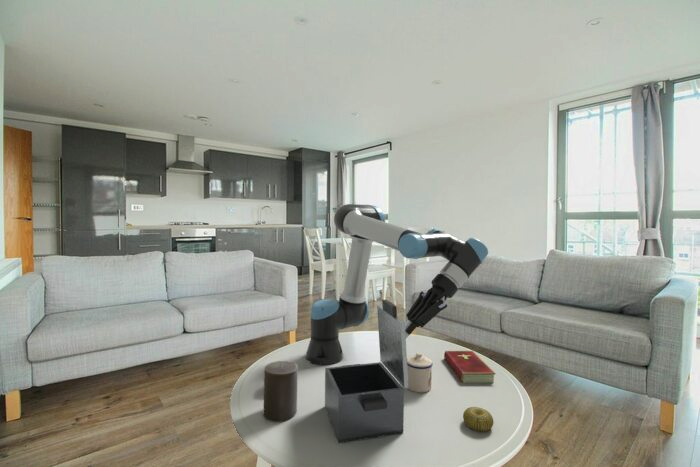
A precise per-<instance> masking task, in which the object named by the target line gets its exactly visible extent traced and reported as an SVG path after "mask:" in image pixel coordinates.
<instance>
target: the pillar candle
mask: <svg viewBox="0 0 700 467" xmlns="http://www.w3.org/2000/svg"><path fill="white" fill-rule="evenodd" d="M298 367H299V366H298V364H296V363H295V362H292V361H287V360H277V361H273V362H270V363H268V364H266V365H265V367H264V373H263V374H264V379H263V383H264V384H263V417H264V418H265V419H266V420H268V421H270V422H275V423H277V422H286V421H289V420H291V419H292V418H294V417H296V415H297V411H298V410H297V408H298Z"/></svg>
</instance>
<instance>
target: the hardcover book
mask: <svg viewBox="0 0 700 467" xmlns="http://www.w3.org/2000/svg"><path fill="white" fill-rule="evenodd" d="M443 356H444V357H443V358H444V361H446V364H448V367H450V368H451V370H452V371H453V372H454V374H455V375H456V377H457V378H458V379H459V381H460V382H461V383H462V384H464V383H494V382H495V381H494V380H495V375H497V374H496V373H495V371H494V370H493V369H492V368H491V367H490V366H489V365H488V364H487V363H486V362H485V361H484V360H483V359H481V357H479V355H478V354H476V352H475V351H473V350H445V351H444V353H443Z"/></svg>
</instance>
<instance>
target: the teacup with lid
mask: <svg viewBox="0 0 700 467" xmlns="http://www.w3.org/2000/svg"><path fill="white" fill-rule="evenodd" d="M432 368H433V361H432V360H431V359H430V358H428V357H426V356H424V355H423V354H422V353H421V352H416V354H415V355H411V356H408V357H407V370H408V387H409V388H407V389H408V390H410V391H412V392H415V393H427V392H429V391H430V390H432V374H433V373H432V372H433V370H432Z"/></svg>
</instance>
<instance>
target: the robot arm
mask: <svg viewBox="0 0 700 467" xmlns="http://www.w3.org/2000/svg"><path fill="white" fill-rule="evenodd" d="M333 223H334V226H335V227H336V229H337V230H339V232H341V233H344V234H347V235H348V236H349V237H350V238H351V244H350V252H349V256H348V257H349V258H348V262H347V263H348V264H347V270H346V277H345V282H344V289H343V291H342V292H341V293H339V298H338V300H337V299H335V298H328V299H326V298H325V299H320V300H318V301H315V302H313V304H311V307H310V308H311V309H310V314H309V315H310V340H309V343H308V347H307V350H306V353H305V354H306V355H305V358H306V360H307V362H309V363H310V364H314V365H320V366H321V365H322V366H324V365H325V366H326V365H327V366H328V365H333V364H336V363H339V362H341V361H342V360H343V355H344V354H343V348H342V345H341V341H340V339H339V337H340V336H339V335H340V334H339V333H340V332H339V331H341V330H344V329H349V328H352V327H358V326H360V325H363V324H365V323H366V321H367V320H368V319H369V316H370V307H369V303H368V301H367V298H366V296H365V294H364V292H365V287H366V281H367V276H368V270H369V264H370V258H371V253H372V252H371V251H372V246H373V243H377V244H379V245H383V246H385V247H387V248H390V249H392V250H395V251H398V252H399V253H400V254H401V255H402V257H403V258H406V259H411V260H417V259H423V258H424V259H425V258H431V257H433V258H434V257H441V258H444V260H447V263H446V264H445V265H444V266H443V268H441V270H440V271H439V273H437V274H436V275H435V277H434V278H433V279H432V280H431V282H430V283H431V285H432V286H431V287H430V288H429V289H428V290H427V292H424V291H420V292H419V294H418V297H417V298H416V300H415V302H414V303H413V304H412V305H411V308H410V309H409V310H408V312H407V313H406V317H407V320H406V321H404V322H405V335H406V339H408V337H409V336H410V335H411V334H412V332H414V331H415V330H416V328H419V327H420V328H423V327H425V326H426V325H427V324H428V323H429V322H430V321H431V320H432V319H434V318H435V317H436V316H437V315H438V314H440V312H441V311H443V310H446V308H447V307H448V304H447V303H446V300H447V299H452V298H453V297H454V296H455V294H456V293H458V291H459V289H460V288H461V287H462V286H463V285H464V284H465V282H466V281H467V280H468V279H469V278H470V276H471V275H472V274H473V273H474V272H475V271H476V269H478V267H479V266H480V265H482V263H483V261H484V260H485V259H486V258H487V257H488V254H489V249H488V247H487V246H486V244H485V243H483V242H482V241H481V240H479V239H478V238H475V237H470V238H468V239H466V241H464V240H462V239H459V238H457V237H455V236H453V235H451V234H449V233H447V232H446V231H444V230H441V229H439V228H431V230H428V231H427V232H426V233H425V232H424V233H423V232H417V231H414V230H411V229H409V228H406V227H405V228H404V227H402V226H399V225H395V224H393V223H388V222H386V218H385V214H384V213H383V211H382V209H381V208H380V207H378V206H376V205H371V204H353V203H347V204H343V205H341V206H340V207H339V208H338V209H337V210H336V211H335V213H334V216H333Z"/></svg>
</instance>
